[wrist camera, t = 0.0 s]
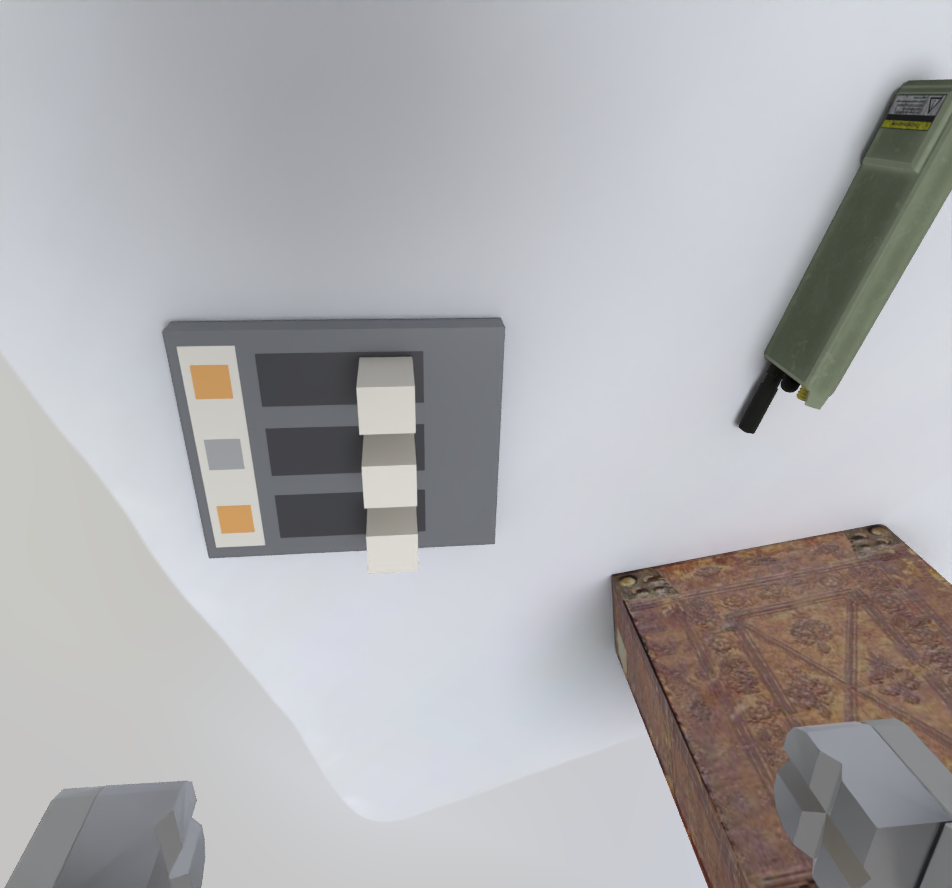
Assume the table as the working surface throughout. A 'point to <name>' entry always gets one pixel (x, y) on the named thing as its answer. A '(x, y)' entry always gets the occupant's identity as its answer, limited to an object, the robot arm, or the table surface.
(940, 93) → the handheld radio
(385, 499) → the tab middle
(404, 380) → the tab inner
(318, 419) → the switch panel
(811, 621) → the book
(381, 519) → the block
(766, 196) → the table surface
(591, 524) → the table surface
